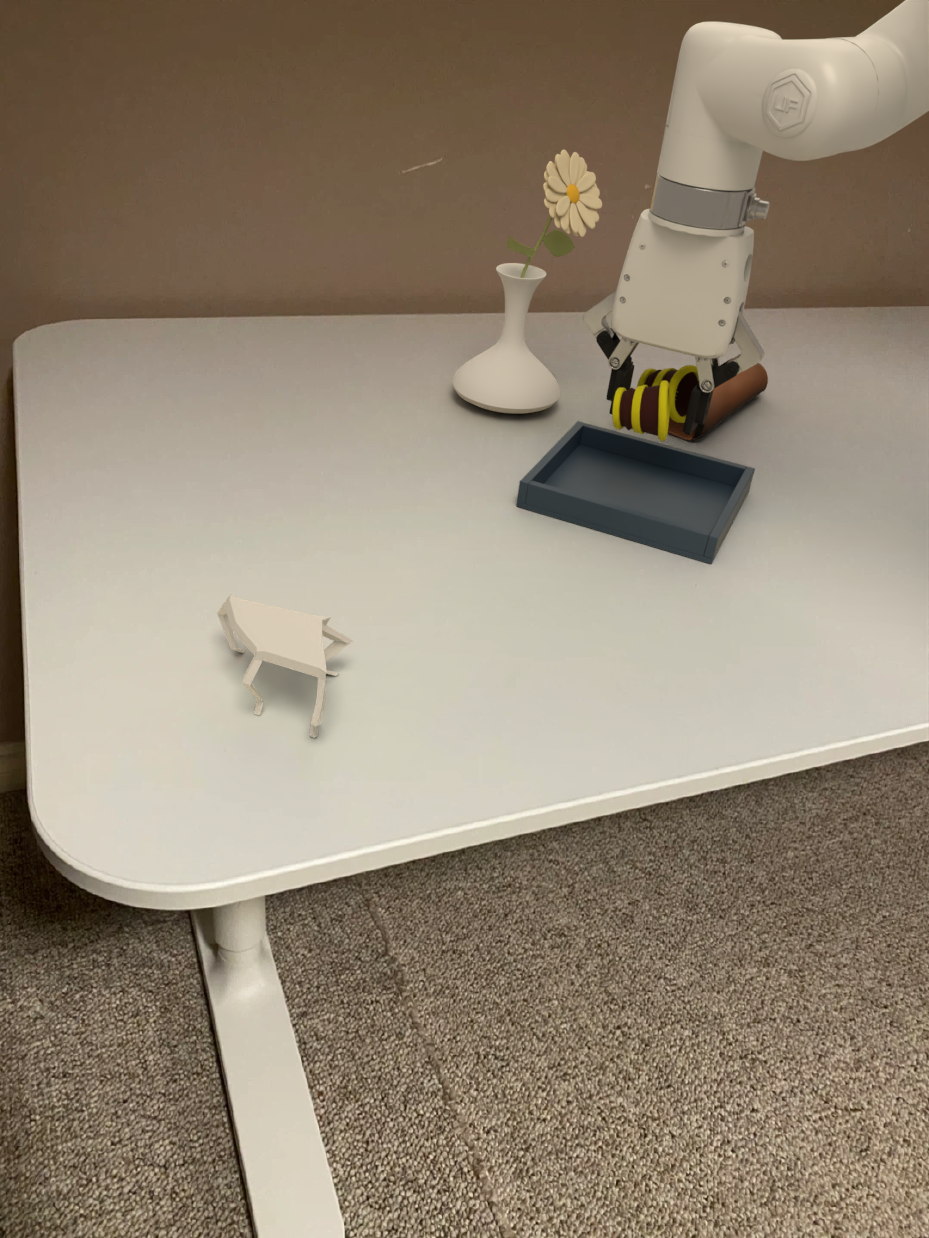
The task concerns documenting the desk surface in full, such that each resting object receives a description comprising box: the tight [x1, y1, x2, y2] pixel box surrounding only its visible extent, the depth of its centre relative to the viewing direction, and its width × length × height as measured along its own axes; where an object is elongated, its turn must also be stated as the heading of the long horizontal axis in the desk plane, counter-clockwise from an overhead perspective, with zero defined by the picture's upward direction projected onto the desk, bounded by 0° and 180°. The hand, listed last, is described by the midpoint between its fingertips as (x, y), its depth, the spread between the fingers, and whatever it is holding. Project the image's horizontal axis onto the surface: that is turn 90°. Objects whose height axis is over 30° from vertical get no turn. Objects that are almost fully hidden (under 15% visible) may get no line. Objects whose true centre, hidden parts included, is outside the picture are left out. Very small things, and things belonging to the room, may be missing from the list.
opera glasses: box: [612, 364, 699, 442], centre depth 93 cm, size 10×5×5 cm, turn 148°
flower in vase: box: [451, 149, 603, 415], centre depth 108 cm, size 13×11×25 cm
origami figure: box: [216, 593, 354, 739], centre depth 70 cm, size 12×8×5 cm
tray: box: [515, 420, 756, 565], centre depth 98 cm, size 18×16×2 cm
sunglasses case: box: [667, 362, 769, 442], centre depth 117 cm, size 18×7×7 cm
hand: (654, 417), depth 94 cm, fingers closed on opera glasses, 5 cm apart
